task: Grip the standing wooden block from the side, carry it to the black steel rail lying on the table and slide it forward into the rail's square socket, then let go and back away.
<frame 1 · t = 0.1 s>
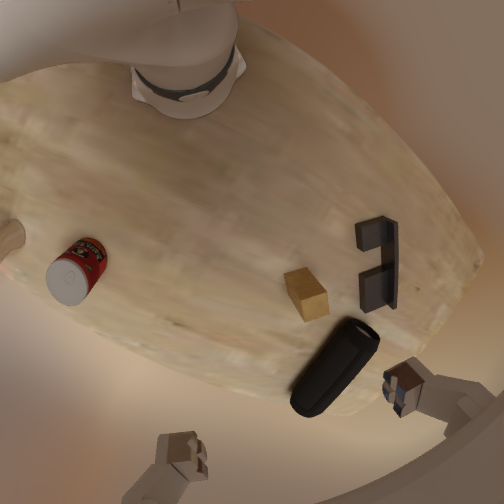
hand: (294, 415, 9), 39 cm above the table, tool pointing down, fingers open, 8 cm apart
beer glass: (16, 233, 39), on the table
wooden block: (296, 280, 52), on the table
canned food: (90, 256, 44), on the table
portable speaker: (325, 357, 62), on the table
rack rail: (371, 256, 54), on the table
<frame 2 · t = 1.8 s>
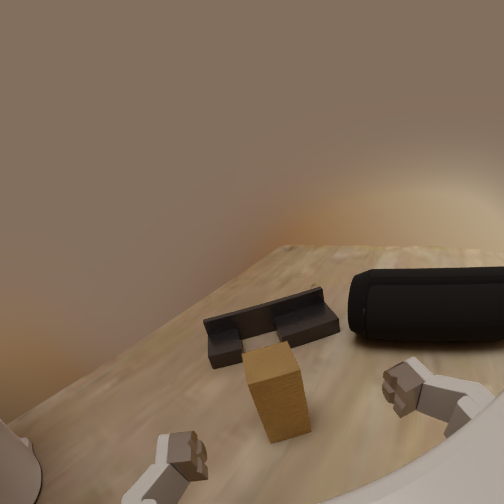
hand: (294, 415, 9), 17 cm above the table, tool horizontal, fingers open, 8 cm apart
wooden block: (286, 423, 26), on the table
portable speaker: (436, 335, 31), on the table
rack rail: (261, 343, 42), on the table
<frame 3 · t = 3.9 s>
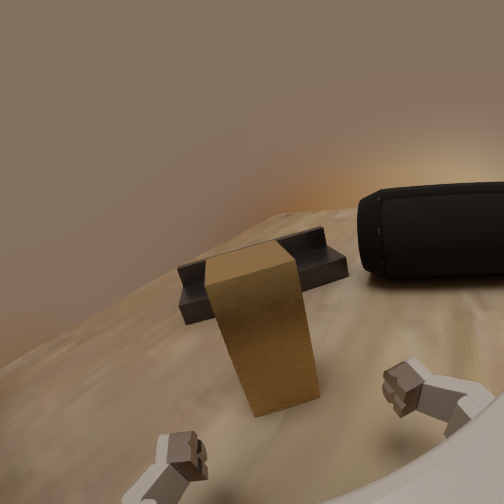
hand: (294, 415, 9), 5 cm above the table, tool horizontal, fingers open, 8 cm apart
wooden block: (280, 386, 18), on the table
portable speaker: (469, 273, 24), on the table
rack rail: (248, 294, 34), on the table
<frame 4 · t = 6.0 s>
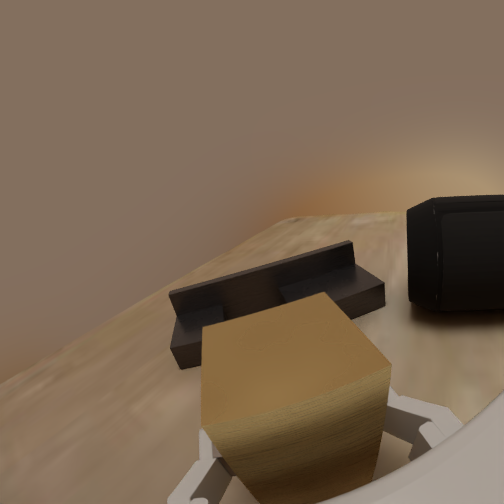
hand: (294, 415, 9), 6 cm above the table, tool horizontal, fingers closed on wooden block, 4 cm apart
wooden block: (312, 480, 10), on the table, touching gripper
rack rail: (259, 328, 26), on the table
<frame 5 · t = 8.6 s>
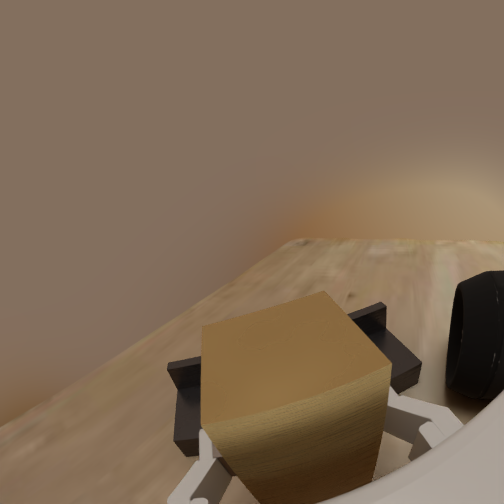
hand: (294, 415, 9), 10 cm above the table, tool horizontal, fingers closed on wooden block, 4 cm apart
wooden block: (312, 479, 10), point 4 cm above the table, touching gripper
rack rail: (275, 407, 21), on the table
when the fingers open (7 cm above the table, at t = 11.4 s): wooden block drops 1 cm, on the table.
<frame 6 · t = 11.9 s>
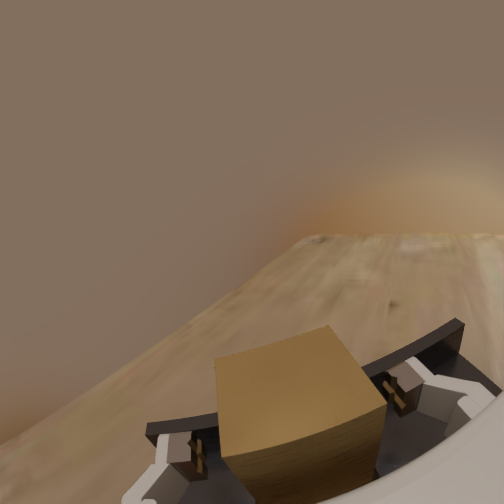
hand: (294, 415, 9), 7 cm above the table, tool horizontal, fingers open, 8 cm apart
wooden block: (314, 488, 11), on the table
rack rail: (312, 481, 11), on the table
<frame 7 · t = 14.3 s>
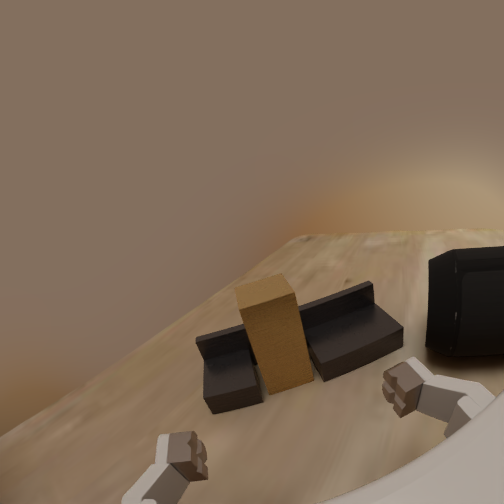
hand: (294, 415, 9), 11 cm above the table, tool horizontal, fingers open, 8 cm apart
wooden block: (286, 374, 26), on the table
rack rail: (285, 370, 26), on the table
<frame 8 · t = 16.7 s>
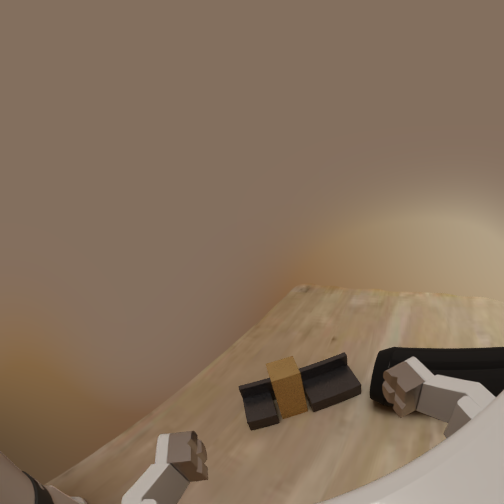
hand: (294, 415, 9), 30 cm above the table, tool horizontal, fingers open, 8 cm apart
wooden block: (292, 406, 43), on the table
portable speaker: (441, 398, 32), on the table
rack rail: (291, 404, 43), on the table
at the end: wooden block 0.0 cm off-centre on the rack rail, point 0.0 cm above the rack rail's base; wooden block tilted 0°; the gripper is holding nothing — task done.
